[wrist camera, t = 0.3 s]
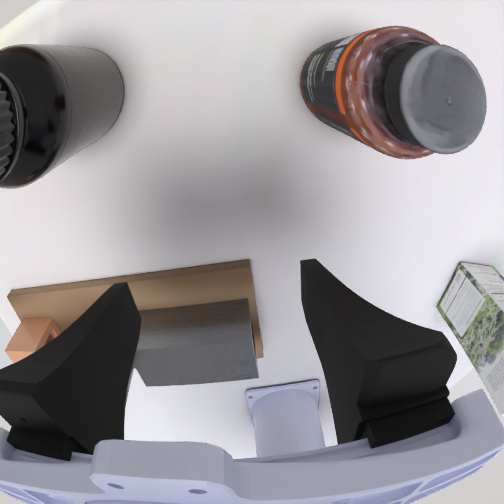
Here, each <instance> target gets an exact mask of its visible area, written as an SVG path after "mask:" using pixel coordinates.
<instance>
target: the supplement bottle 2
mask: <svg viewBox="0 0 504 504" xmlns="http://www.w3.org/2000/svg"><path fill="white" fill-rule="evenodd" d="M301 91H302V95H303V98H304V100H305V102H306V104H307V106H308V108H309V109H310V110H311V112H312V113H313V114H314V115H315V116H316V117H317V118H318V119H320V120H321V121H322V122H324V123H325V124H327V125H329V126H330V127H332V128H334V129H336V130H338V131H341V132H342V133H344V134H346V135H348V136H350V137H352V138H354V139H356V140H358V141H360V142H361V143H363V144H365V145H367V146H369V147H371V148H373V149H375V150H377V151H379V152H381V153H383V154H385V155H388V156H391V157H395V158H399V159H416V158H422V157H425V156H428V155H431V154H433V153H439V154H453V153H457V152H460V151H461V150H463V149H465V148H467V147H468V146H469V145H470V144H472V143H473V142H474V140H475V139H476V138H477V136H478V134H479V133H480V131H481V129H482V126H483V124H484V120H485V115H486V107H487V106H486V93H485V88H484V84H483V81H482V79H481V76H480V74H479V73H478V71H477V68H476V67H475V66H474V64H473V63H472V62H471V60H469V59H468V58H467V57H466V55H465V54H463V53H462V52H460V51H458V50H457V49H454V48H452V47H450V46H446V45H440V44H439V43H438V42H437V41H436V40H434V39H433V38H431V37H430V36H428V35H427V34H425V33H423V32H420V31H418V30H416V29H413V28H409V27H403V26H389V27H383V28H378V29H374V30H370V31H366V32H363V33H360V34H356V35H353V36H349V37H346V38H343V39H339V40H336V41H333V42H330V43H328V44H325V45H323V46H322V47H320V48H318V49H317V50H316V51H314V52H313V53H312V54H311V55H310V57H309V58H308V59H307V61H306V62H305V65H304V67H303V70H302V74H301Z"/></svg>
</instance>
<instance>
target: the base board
mask: <svg viewBox="0 0 504 504" xmlns="http://www.w3.org/2000/svg"><path fill="white" fill-rule="evenodd" d="M122 282H127V283H128V286H129V288H130V291H131V293H132V296H133V299H134V301H135V304H136V306H137V309H138V311H139V310H149V309H159V308H168V307H178V306H187V305H196V304H204V303H212V302H221V301H229V300H237V299H244V298H248V300H249V307H250V313H251V319H252V325H253V331H254V337H255V346H256V356H257V358H263V349H262V342H261V336H260V329H259V322H258V315H257V309H256V302H255V295H254V288H253V281H252V274H251V268H250V261H249V260H242V261H235V262H227V263H220V264H212V265H205V266H197V267H190V268H182V269H175V270H167V271H159V272H152V273H144V274H136V275H129V276H121V277H113V278H105V279H98V280H90V281H82V282H74V283H66V284H58V285H50V286H42V287H34V288H26V289H18V290H11V292H10V293H9V294H8V296H7V298H8V300H9V301H10V303H11V305H12V307H13V308H14V310H15V312H16V314H17V315H18V317H19V319H20V320H21V322H22V320H23V319H34V318H51V317H52V318H53V320H54V321H55V323H56V325H57V326H58V328H59V330H60V332H61V333H62V332H63V331H64V330H66V329H67V328H68V327H69V326H70V325H71V324H72V323H73V322H74V321H76V320H77V319H78V318H79V317H80V316H81V315H82V314H83V313H84V312H85V311H86V310H87V309H88V308H89V307H90V306H91V305H92V304H93V303H94V302H95V301H96V300H97V299H98V298H99V297H100V296H101V295H102V294H103V293H104V292H105V291H106V290H107V289H108V288H110V287H111V286H112V285H113V284H114V283H122ZM134 368H136V367H135V366H134Z"/></svg>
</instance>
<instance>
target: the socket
mask: <svg viewBox="0 0 504 504" xmlns="http://www.w3.org/2000/svg"><path fill="white" fill-rule="evenodd" d="M59 334H61V332H60V330H59V328H58V326H57V325H56V323H55V321H54V320H53V318H52V317H51V318H34V319H23V320H22V322H21V324H20V325H19V327H18V329H17V330H16V332H15V334H14V335H13V337H12V339H11V341H10V342H9V344H8V346H7V348H6V350H5V352H6V353H7V355H8V356H9V357H10V359H11V360H12V361H13V363H16V362H18V361H20V360H22V359H23V358H25V357H27V356H29V355H30V354H32V353H34V352H35V351H37V350H38V349H40V348H41V347H43V346H44V345H46V344H47V343H49V342H50V341H52V340H53V339H54V338H56V337H57V336H58V335H59Z"/></svg>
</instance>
